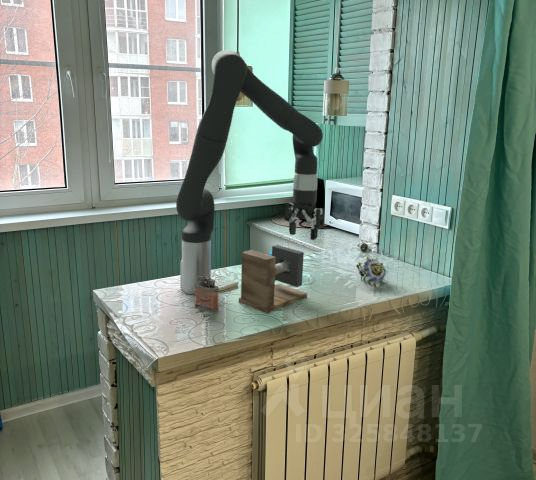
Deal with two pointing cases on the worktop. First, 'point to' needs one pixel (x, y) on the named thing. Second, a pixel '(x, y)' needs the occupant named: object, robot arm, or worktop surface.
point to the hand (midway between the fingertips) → (302, 237)
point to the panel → (296, 265)
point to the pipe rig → (265, 283)
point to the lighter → (206, 295)
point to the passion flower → (372, 271)
